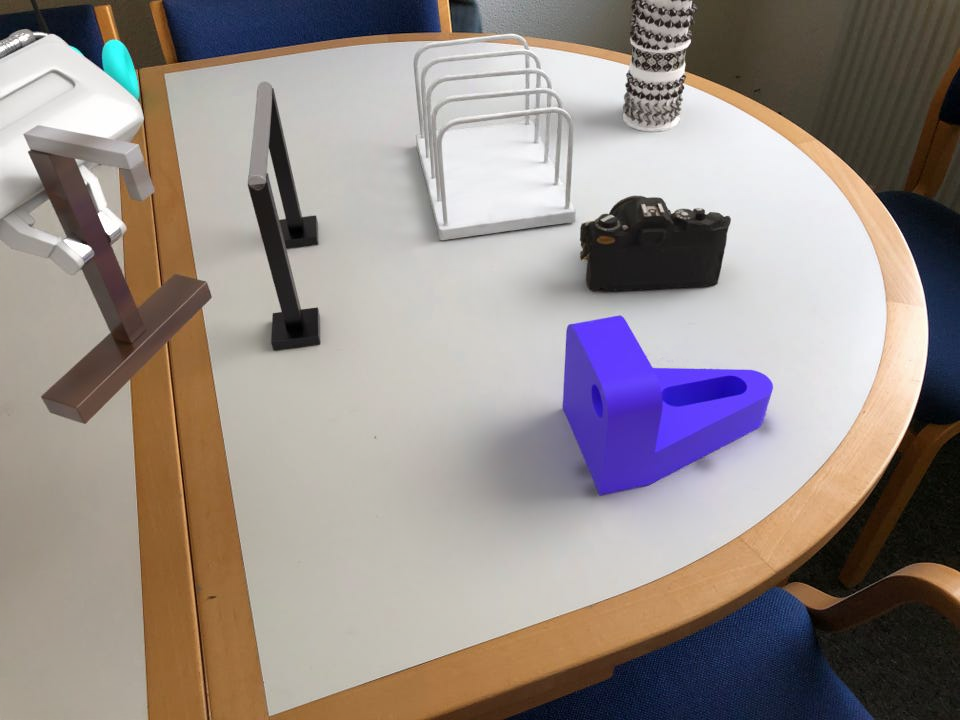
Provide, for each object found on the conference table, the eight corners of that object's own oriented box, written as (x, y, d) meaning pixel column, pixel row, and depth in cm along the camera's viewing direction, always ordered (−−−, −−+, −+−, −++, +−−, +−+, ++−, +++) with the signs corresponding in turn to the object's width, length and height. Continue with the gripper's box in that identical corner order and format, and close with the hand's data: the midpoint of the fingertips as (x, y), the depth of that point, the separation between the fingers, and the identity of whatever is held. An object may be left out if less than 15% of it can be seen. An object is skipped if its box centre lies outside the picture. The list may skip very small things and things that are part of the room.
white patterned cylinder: (683, 107, 122) (710, -71, 105) (679, 135, 116) (706, -50, 99) (624, 102, 124) (640, -73, 107) (617, 130, 118) (633, -53, 101)
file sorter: (416, 146, 116) (405, 39, 106) (532, 132, 118) (533, 26, 108) (440, 241, 98) (430, 124, 88) (576, 224, 100) (582, 106, 89)
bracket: (599, 495, 69) (609, 401, 61) (562, 407, 77) (567, 314, 69) (789, 455, 72) (823, 359, 64) (735, 374, 79) (758, 280, 71)
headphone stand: (49, 413, 52) (-82, 188, 41) (180, 289, 62) (104, 77, 50) (146, 444, 50) (36, 215, 39) (267, 311, 60) (208, 95, 48)
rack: (273, 350, 85) (226, 187, 71) (278, 227, 102) (241, 77, 88) (320, 344, 85) (282, 181, 72) (317, 223, 102) (286, 73, 89)
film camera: (681, 224, 99) (692, 151, 92) (737, 279, 91) (754, 204, 84) (550, 256, 95) (552, 183, 88) (596, 318, 86) (602, 242, 80)
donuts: (81, 97, 133) (57, 37, 126) (142, 88, 135) (122, 29, 128) (75, 123, 126) (49, 61, 119) (140, 113, 128) (119, 52, 121)
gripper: (28, 49, 56) (182, 194, 60) (-261, 196, 42) (-36, 372, 46) (52, -11, 51) (217, 149, 55) (-261, 131, 38) (-13, 331, 42)
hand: (100, 252), depth 51 cm, fingers closed on headphone stand
